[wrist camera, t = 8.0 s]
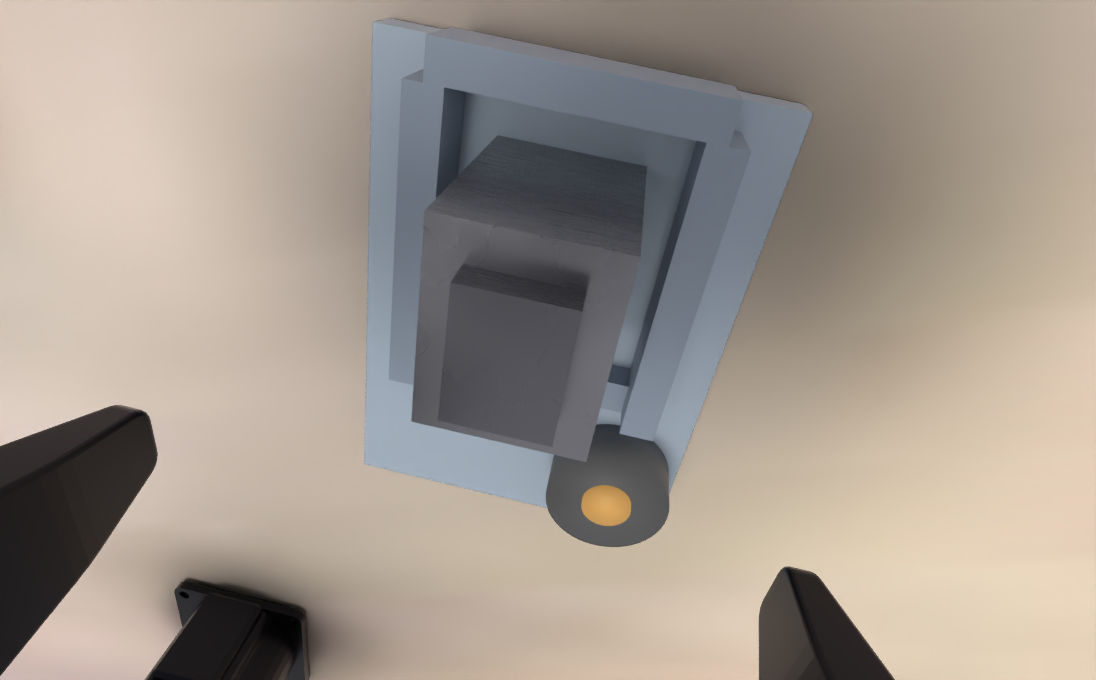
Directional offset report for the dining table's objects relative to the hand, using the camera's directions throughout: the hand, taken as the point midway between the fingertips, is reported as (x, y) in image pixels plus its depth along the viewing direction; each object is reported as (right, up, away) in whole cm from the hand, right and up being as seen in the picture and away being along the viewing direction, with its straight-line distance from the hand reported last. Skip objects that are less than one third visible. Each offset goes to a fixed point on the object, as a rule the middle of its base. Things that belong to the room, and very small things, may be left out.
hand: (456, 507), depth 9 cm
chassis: (+1, +3, +12) cm, 12 cm away
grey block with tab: (+1, +5, +9) cm, 11 cm away
